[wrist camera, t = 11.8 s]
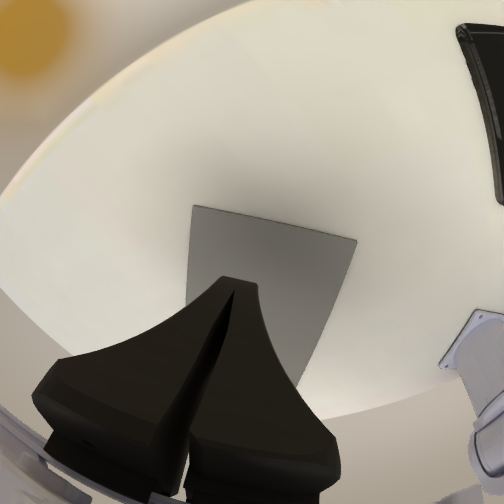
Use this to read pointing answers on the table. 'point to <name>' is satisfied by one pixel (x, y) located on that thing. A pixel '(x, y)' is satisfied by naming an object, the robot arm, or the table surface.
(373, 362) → the table surface
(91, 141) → the table surface
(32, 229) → the table surface
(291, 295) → the rubber mat
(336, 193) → the table surface
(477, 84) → the phone
